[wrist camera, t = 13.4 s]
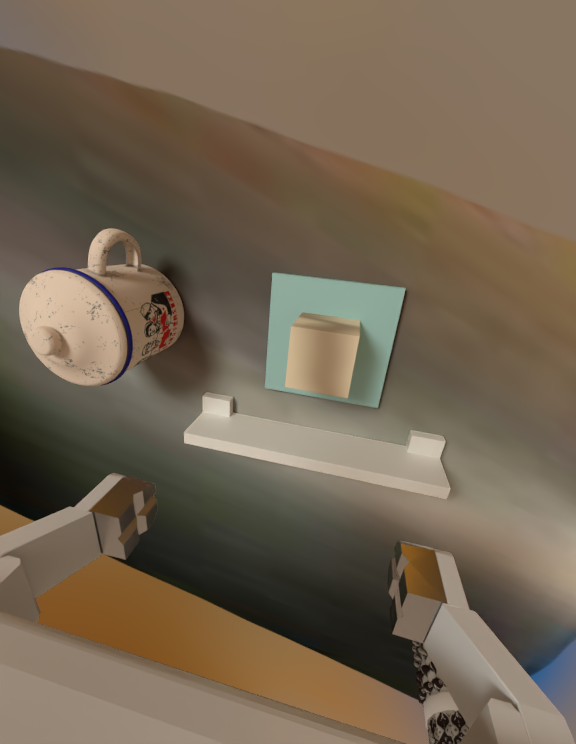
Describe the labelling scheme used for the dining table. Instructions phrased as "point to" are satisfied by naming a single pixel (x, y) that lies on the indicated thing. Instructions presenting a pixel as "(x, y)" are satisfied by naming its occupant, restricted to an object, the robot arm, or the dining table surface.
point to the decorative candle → (437, 702)
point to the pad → (345, 301)
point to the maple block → (322, 354)
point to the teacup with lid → (100, 314)
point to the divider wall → (322, 449)
